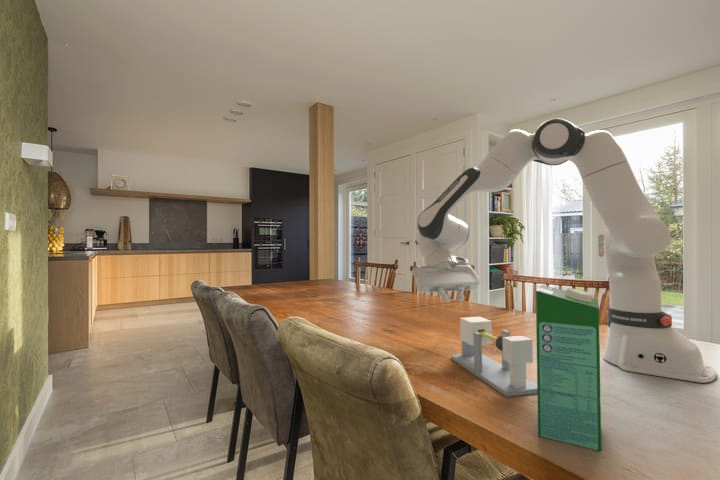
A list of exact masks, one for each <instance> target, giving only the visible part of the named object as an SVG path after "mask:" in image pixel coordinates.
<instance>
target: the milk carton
mask: <svg viewBox="0 0 720 480" xmlns="http://www.w3.org/2000/svg"><path fill="white" fill-rule="evenodd" d="M593 297H594V294H593V293H590V292H588V291H584V290H581V289H578V288H577V289H576V288H572V287H568V288H567V290H563V289H559V288H556V287H551V286H549V285H546V284H541V285H540V286H539V287H538V288H537V289H536V291H535V312H536V313H535V316H536V317H535V319H536V321H535V323H536V324H535V325H536V382H537V383H536V384H537V393H536V394H537V435H538V437H542V438H546V439H550V440H554V441H557V442H562V443H566V444H569V445H575V446H578V447H583V448H586V449H590V450H595V451H599V452H601V451H602V425H601V423H602V420H601V419H602V418H601V417H602V410H601V404H602V403H601V401H602V400H601V399H602V398H601V360H600V359H601V355H600V352H601V347H600V338H601V337H600V307H599V299H596V298H593Z"/></svg>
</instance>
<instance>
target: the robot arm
mask: <svg viewBox="0 0 720 480" xmlns="http://www.w3.org/2000/svg"><path fill="white" fill-rule="evenodd" d="M568 161H570V162H572V163H573V164H574V165H575V166H576V169H577V170H578V172H579V175H580V177H581V179H582V182H583V184H584V186H585V189H586V190H587V191H586V192H587V193H588V195H589V198H590V201H591V202H592V205H593V206H594V208H595V210H597V212H598V213H599V215H600V217H601V219H602V221H603V223H604V224H605V226H606V227H605V228H606V229H605V230H604V232H603V241H604V250H605V260H606V266H607V272H608V273H607V274H608V285H609V290H608V291H609V306H608V307H607V312H606V313H607V314H606V315H607V327H608V336H607V343H606V348H605V351H604V354H603V356H602V357H603V359H604V360H605V361H606V362H608V363H610V364H612V365H615V366H617V367H619V368H620V369H621V370H623V371H627V372H630V373H631V372H632V373H639V374H644V375H651V376H658V377H661V378H662V377H663V378H669V379H675V380H682V381H687V382H688V381H689V382H695V383H703V384H705V383H710V382H713V381H714V380H716V377H717V372H716V370H715V368H714V367H712V366H710V365H708V364H706V363H704V359H703V354H702V352H701V349H700V348H699V347H698V345H697V344H696V343H695V342H694V341H692V340H690V339H688V338H687V337H686V336H684V335H683V334H681V333H680V332H679V331H677V330H676V329H675V328H673V327H672V326H673V325H672V324H673V316H672V314H670V313H669V314H668V313H667V312H665V311H662V282H661V277H660V276H659V274H658V273H659V272H658V268H657V266H656V260H655V256H657V255H659V254H660V253H662V252H663V251H664V250H665V249H667V248H668V246H669V244H670V242H671V237H672V236H671V231H670V228H669V227H668V226H667V224H666V223H665V222H664V221H662V219H661V218H660V216H659V214H658V212H657V211H656V210H655V208H654V206H653V204H651V202H650V201H649V199H648V198H647V196H646V195H645V193H644V192H643V190H642V189H641V187H640V185H639V183H638V181H637V179H636V176H635V173H634V172H633V170H632V168H631V165H630V163H629V161H628V158H627V157H626V155H625V153H624V151H623V149H622V148H621V146H620V145H619V143H618V142H617V141H616V138H614V137H613V135H612V134H611V133H610V132H609V131H606V130H595V131H594V130H593V131H591V132H588V133H586V132H585V131H584V130H583V129H582V128H580V127H578V126H577V125H575V124H574V123H572V122H571V121H570V120H569V121H568V120H566V119H564V118H557V117H556V118H551V119H548V120H546V121H544V122H542V123H541V124H540V125H539V126H538V127H537V128H536V130H535V132H534V133H533V134H532V133H529V132H527V131H525V130H521V129H512V130H510V131H508V132H507V133H506V134H505V135H504V136H503V137H502V138H500V139H499V141H498V142H497V143H496V144H495V145H494V147H493V148H491V150H490V151H489V153H488V154H487V155H486V156H485V158H484V159H483V160H482V161H480V162H479V163H478V164H477V165H475V166H474V167H470V168H468V169H466V170H464V171H463V172H461V174H460V175H459V176H458V177H456V178H455V180H454V181H453V182H452V183H451V184H450V185H449V186H448V187H447V188H446V189H445V191H443V192H442V193H441V195H439V196H438V198H436V200H435V201H434V202H433V203H431V204H430V205H429V206H428V207H426V208H425V209H423V211H422V212H421V213H420V214H419V216H418V218H417V230H418V233H417V244H418V245H417V246H418V249H419V252H420V253H421V256H422V258H424V264H425V266H424V265H423V266H415V267H414V268H412V270H411V273H412V276H413V278H414V279H415V281H414V282H415V286H416V290H417V291H418V292H419V293H420V294H421V293H422V294H424V293H426V294H427V293H437V294H438V296H440V297H441V298H442V299H443V301H444V303H450V302H451V300H452V298H451V295H450V294H447V293H446V292H457V293H458V294H457V296H456V299H457V302H464V301H465V296H464V291H475V290H476V289H477V288H479V285H480V278H479V276H478V275H477V273H476V271H475V269H474V268H473V267H472V265H469V262H470V261H469V260H468V259H467V258H465V257H461V256H457V255H454V254H451V253H454V252H455V251H456V250H458V249H459V248H461V247H462V246H463V245H465V244H466V242H467V241H468V239H469V237H470V229H469V228H470V227H469V225H468V224H467V223H466V222H465V221H463V220H461V219H460V218H458V217H455V216H453V215H451V214H450V212H452V211H453V209H454V208H456V206H457V205H459V203H460V202H461V201H463V200H464V198H465V197H467V196H468V195H470V194H472V193H477V192H485V193H497V192H501V191H504V190H506V189H507V188H508V187H509V186H510V185H511V184H512V183H513V182H514V181H515V180H516V178H518V176H519V174H520V173H521V172H522V171H523V170H524V168H525V167H526V166H527V165H528V164H529V163H531V162H534V163H535V162H536V163H539V164H543V165H547V166H560V165H562V164H564V163H566V162H568Z"/></svg>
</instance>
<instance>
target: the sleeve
mask: <svg viewBox="0 0 720 480" xmlns="http://www.w3.org/2000/svg"><path fill="white" fill-rule="evenodd" d="M492 323H493V321H492V320H490V319H487V318H485V317H482V316H481V315H480V316H467V317H466V316H465V317H459V340H461V342H462V341H464V342H466V343H468V344H469V345H471V346H473V345H474V332H478V330H481V331H483V332H486V333H488V334H490V335H492V336H493V324H492ZM492 344H493V341H492V340H490V339H487V338H485V337H483V336H482V345H483V346H484V345H492Z"/></svg>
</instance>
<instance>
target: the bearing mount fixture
mask: <svg viewBox="0 0 720 480" xmlns="http://www.w3.org/2000/svg"><path fill="white" fill-rule="evenodd" d="M482 336H483V337H485V338H487V339H490V340H492V342H494V343H495V347H496V348H497V349H498V350H499V351H501V363H500V362H498V361H496V360H494V359H493V358H491V357H489V356H487V355H485V354H484V353H483V346H482ZM533 355H534V354H533V339H532V338H530V337H526V336H525V335H512V336H511V331H509V330H507V329H501V335H499V336H498V337H496V336H494V335H493V334H492V335H490V334H488V333H486V332H483V331H481V330H478V332H474V345H473V346H471V345H469V344H468V343H466V342H464V341H462V340H461V353H459V354H458V353H457V354H451V355H450V359H451V360H452V361H453V362H455V363H457V365H458V364H459V365H460V366H461V367H462V368H465V370H467V371H469V372H470V374H471V373H472V374H473V375H474V376H475V377H477V378H479V380H481V381H483V382H484V383H486V384H488V386H489V387H492V388H493V389H494V390H497V391H498V392H499V393H500V394H502V395H503V396H504V397H507V398H509V397H518V396H523V395H524V396H525V395H526V396H527V395H534V394H537V383H536V382H534V381H532V380H530V379H528V378H527V364H530V363H533V362H534V361H533V360H534V359H533V357H534V356H533Z"/></svg>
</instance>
